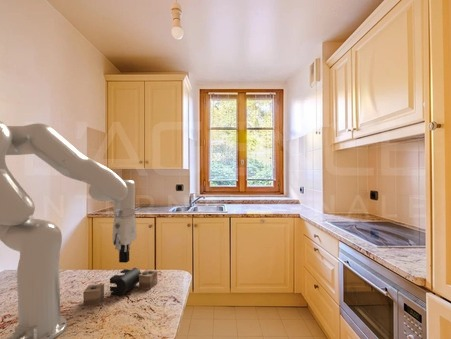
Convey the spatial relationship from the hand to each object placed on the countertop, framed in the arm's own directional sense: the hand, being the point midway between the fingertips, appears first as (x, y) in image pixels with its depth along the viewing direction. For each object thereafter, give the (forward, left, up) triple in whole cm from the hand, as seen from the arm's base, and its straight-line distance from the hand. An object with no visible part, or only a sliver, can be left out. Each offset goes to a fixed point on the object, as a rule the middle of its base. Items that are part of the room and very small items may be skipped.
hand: (124, 261), depth 95 cm
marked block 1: (-8, +7, -11) cm, 15 cm away
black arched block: (+1, 0, -11) cm, 11 cm away
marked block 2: (+5, -7, -11) cm, 14 cm away
